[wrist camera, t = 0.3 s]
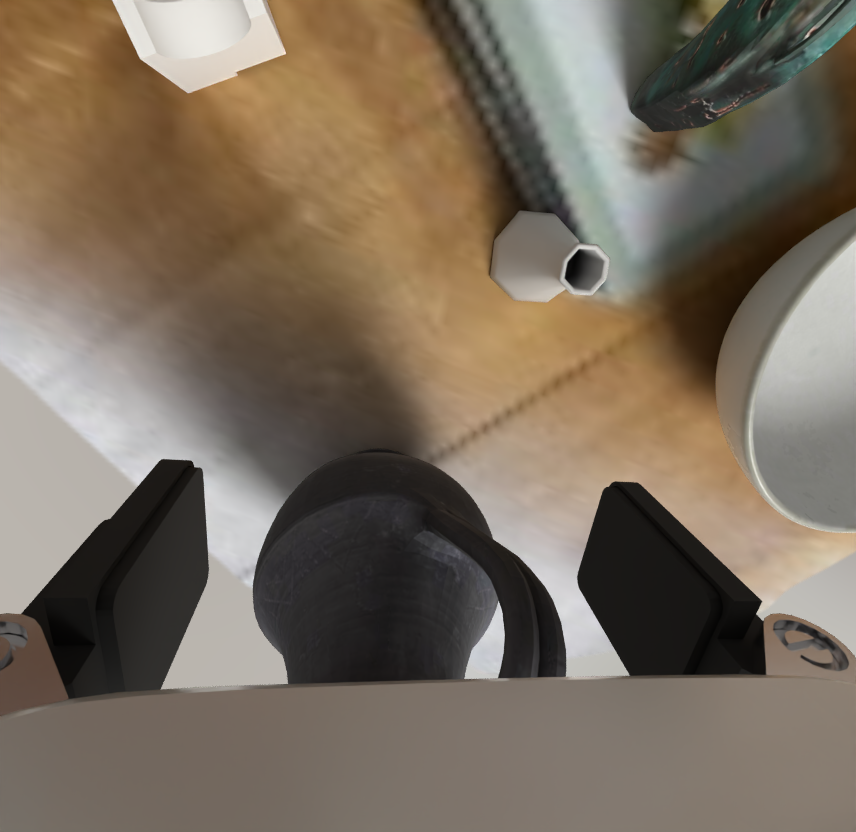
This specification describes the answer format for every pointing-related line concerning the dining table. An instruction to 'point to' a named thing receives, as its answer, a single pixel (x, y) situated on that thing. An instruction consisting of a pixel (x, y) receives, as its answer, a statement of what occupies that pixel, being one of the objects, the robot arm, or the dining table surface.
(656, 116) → the cat figurine
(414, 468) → the pitcher
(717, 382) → the decorative bowl
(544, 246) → the flask
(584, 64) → the dining table surface
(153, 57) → the bracket
